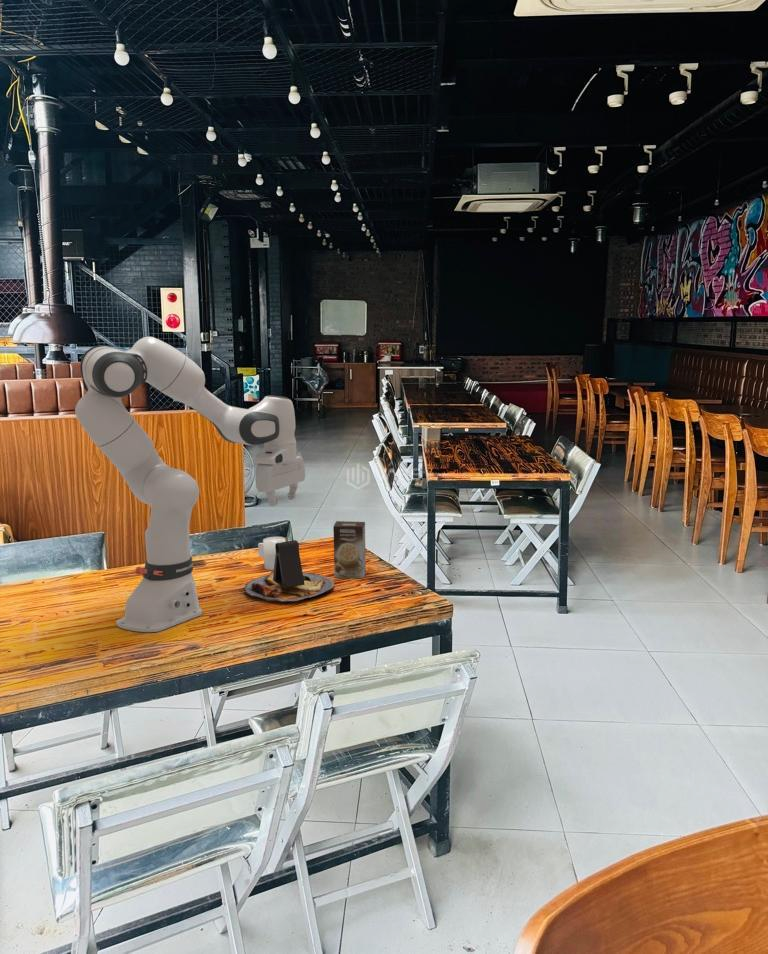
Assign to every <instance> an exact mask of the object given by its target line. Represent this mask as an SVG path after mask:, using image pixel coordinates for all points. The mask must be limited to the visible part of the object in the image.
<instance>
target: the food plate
mask: <svg viewBox="0 0 768 954" xmlns="http://www.w3.org/2000/svg"><path fill="white" fill-rule="evenodd" d="M273 574H274V570H270V573H269V574H268V575H262V576H259V577H257V578H254V579H251V580H249V581H248V582H247V583H246V584H245V586H244V588H243V590H244V592H245V594H248V596H252V597H256V598H259V599H263V600H265V601H267V602H298V601H302V600H304V599H307V598H312V597H316V596H318V595H322V594H323V593H325V592H326V593H327V592H328V591H329V590H331V589H332V588H334V584H335V583H334V581H333V579H332V578H329V577H327V576H324V575H321V574H320V573H314V572H303V577H304V583H305V585H301V586H295V587H290V588H287V590H286V589H285V590H283V589H284V588H283V587H282V586H280V585H279V584H277V583H276V582H275V581H273ZM312 592H316V593H312ZM285 594H287V595H291V596H295V597H298V598H291V599H290V598H286V599H285V598H278V597H280V596H281V595H285ZM310 594H311V595H310Z"/></svg>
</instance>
